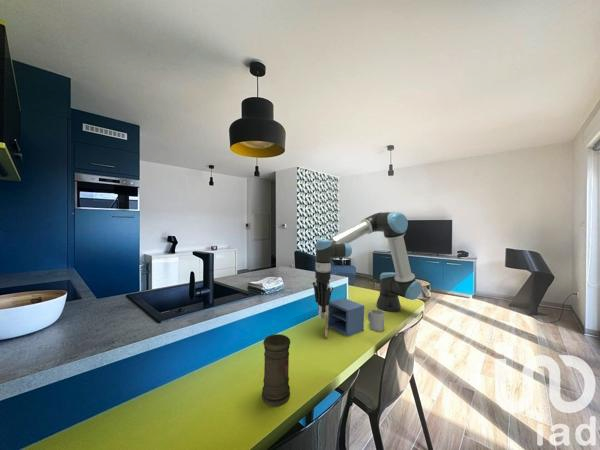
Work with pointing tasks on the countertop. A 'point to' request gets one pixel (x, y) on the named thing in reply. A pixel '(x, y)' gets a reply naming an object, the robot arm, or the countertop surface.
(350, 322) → the cabinet
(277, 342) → the container
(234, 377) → the countertop surface
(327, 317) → the door
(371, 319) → the cup
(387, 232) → the robot arm
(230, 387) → the countertop surface
